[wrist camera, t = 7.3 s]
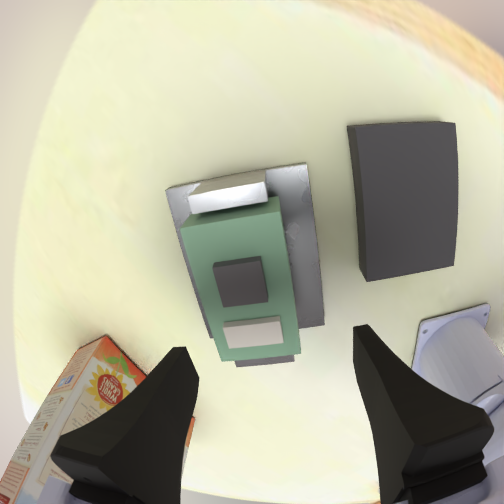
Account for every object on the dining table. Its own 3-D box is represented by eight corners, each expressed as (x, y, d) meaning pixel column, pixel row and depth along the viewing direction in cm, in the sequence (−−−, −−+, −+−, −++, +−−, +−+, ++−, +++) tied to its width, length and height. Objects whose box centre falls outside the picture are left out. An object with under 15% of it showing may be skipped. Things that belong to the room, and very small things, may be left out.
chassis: (323, 318, 23) (331, 356, 19) (211, 332, 24) (202, 369, 21) (305, 162, 19) (314, 174, 15) (169, 187, 20) (144, 205, 16)
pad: (441, 253, 20) (453, 265, 19) (359, 268, 21) (366, 282, 20) (440, 121, 16) (455, 122, 15) (346, 126, 17) (355, 127, 16)
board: (298, 324, 21) (301, 360, 17) (227, 332, 21) (220, 368, 18) (278, 195, 17) (280, 215, 14) (193, 210, 18) (176, 232, 15)
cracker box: (75, 348, 27) (-17, 507, 8) (108, 332, 26) (3, 526, 7) (159, 426, 32) (117, 574, 13) (197, 418, 30) (161, 589, 11)
